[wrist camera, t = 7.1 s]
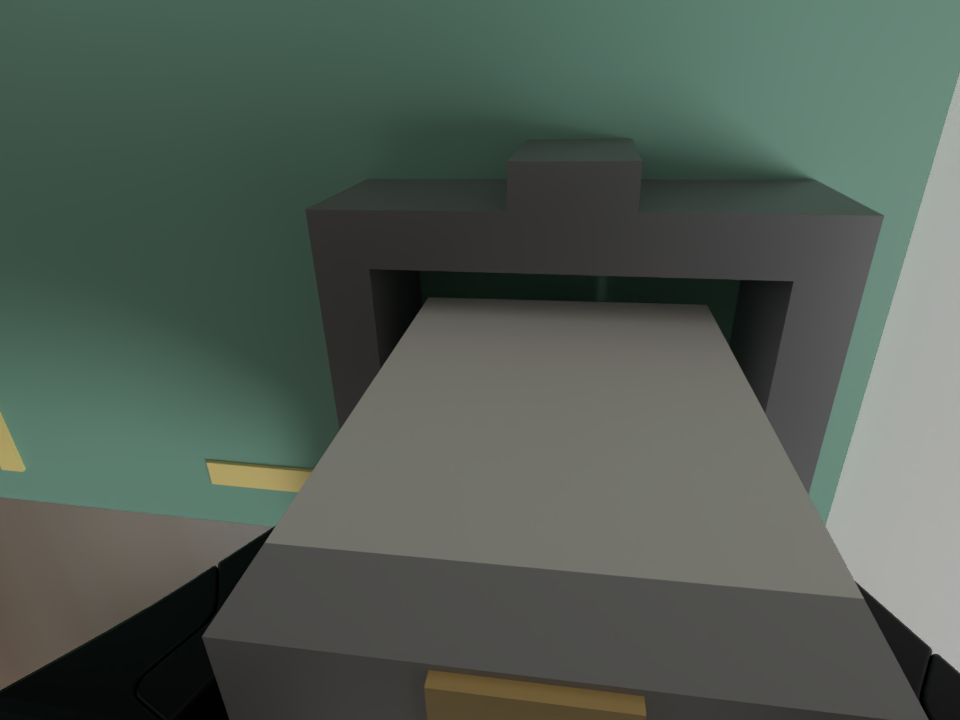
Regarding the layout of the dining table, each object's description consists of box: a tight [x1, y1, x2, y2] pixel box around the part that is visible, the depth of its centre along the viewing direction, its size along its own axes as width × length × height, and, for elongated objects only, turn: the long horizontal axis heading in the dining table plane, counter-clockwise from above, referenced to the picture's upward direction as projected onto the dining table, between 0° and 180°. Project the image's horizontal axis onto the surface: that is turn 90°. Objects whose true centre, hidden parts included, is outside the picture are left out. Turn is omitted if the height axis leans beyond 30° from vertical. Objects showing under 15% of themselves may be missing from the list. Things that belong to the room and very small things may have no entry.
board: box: [0, 0, 960, 527], centre depth 12 cm, size 20×12×1 cm, turn 92°
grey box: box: [202, 297, 929, 720], centre depth 7 cm, size 4×5×6 cm
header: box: [305, 139, 884, 495], centre depth 10 cm, size 7×9×2 cm
